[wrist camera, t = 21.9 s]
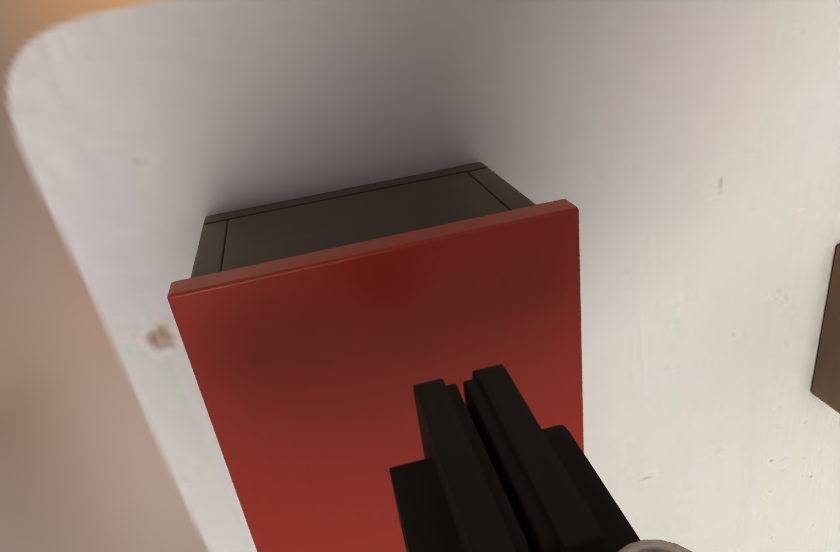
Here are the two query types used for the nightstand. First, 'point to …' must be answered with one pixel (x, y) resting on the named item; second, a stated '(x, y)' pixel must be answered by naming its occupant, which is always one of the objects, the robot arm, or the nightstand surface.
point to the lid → (375, 362)
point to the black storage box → (351, 216)
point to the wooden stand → (830, 345)
